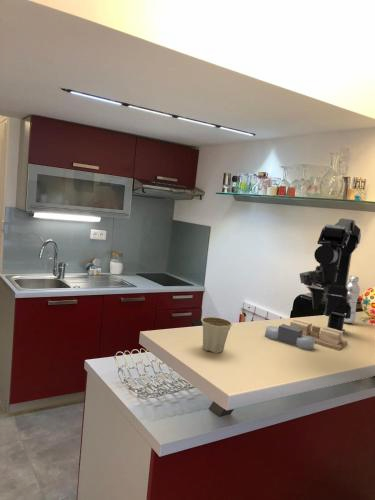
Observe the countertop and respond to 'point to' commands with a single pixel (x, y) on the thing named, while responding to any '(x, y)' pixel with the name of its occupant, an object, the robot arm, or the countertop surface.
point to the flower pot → (215, 333)
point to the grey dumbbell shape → (290, 336)
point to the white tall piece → (352, 297)
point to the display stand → (321, 334)
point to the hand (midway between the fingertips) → (320, 312)
